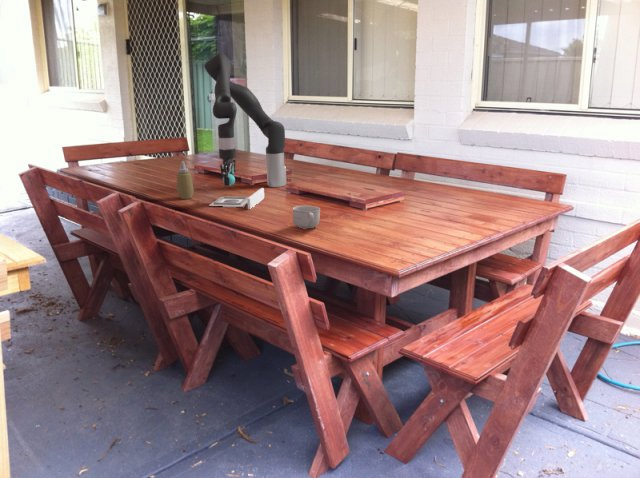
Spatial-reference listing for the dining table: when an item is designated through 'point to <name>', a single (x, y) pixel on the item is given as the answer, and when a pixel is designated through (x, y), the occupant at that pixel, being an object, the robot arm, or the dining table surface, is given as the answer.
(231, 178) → the teal ball
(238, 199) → the pad
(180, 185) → the squeeze bottle
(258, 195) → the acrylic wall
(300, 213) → the teacup
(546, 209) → the dining table surface
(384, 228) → the dining table surface
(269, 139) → the robot arm
